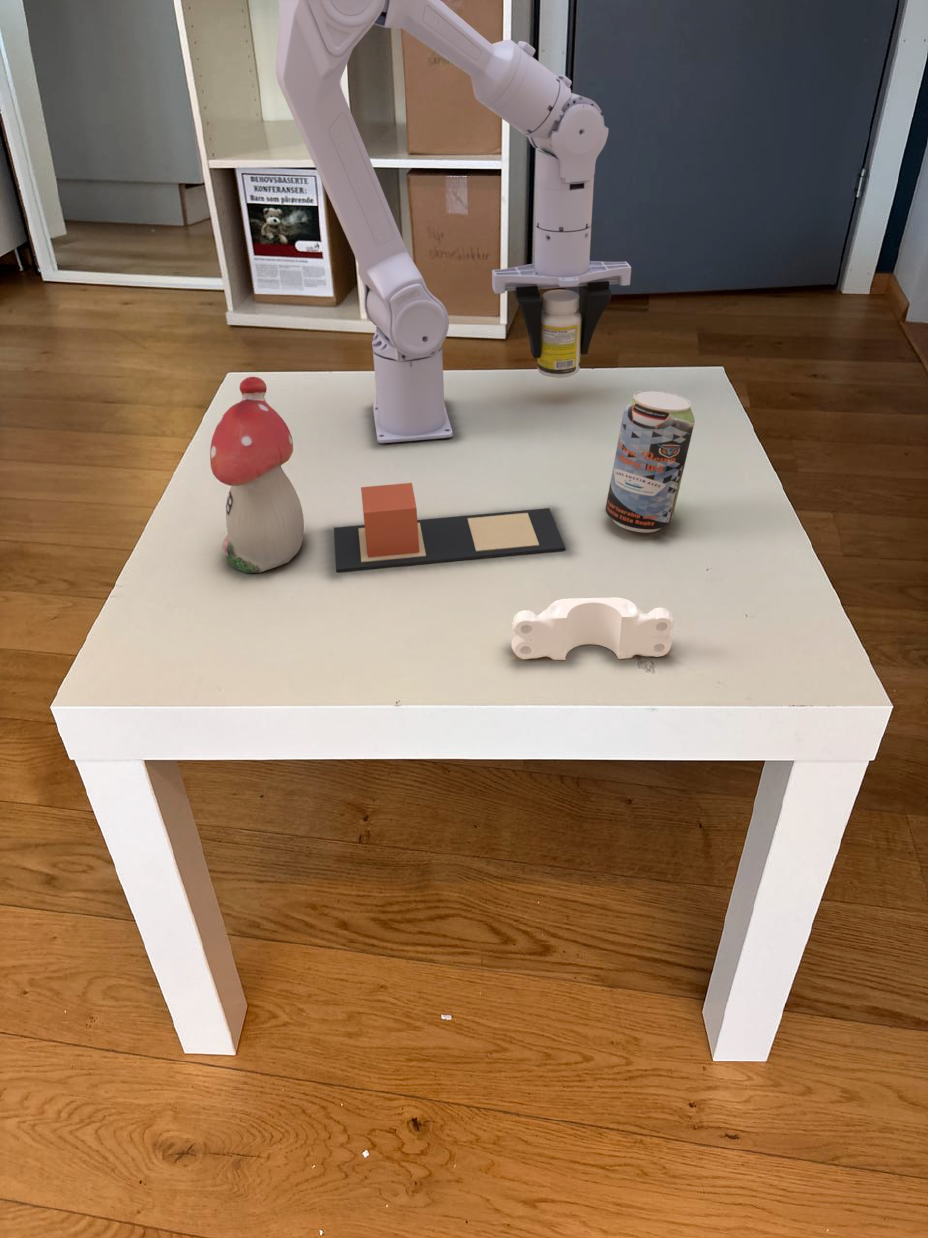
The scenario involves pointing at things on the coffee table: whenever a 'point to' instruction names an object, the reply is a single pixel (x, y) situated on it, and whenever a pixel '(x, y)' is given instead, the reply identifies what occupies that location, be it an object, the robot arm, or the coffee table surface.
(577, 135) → the robot arm
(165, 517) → the coffee table surface
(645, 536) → the coffee table surface
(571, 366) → the supplement bottle
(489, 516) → the black rectangular board
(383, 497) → the orange red cube
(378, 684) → the coffee table surface
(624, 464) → the beverage can
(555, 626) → the pipe clamp
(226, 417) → the decorative ornament
